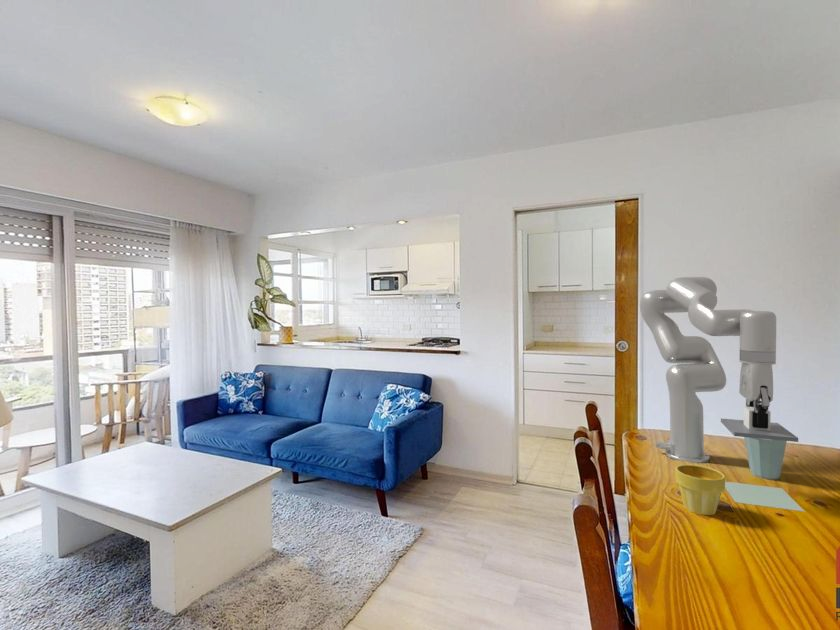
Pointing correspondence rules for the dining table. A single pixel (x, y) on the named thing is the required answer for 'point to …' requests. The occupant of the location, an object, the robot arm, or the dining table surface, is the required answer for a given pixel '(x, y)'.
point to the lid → (747, 430)
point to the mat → (761, 496)
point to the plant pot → (700, 488)
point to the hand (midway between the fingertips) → (756, 424)
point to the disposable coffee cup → (765, 457)
